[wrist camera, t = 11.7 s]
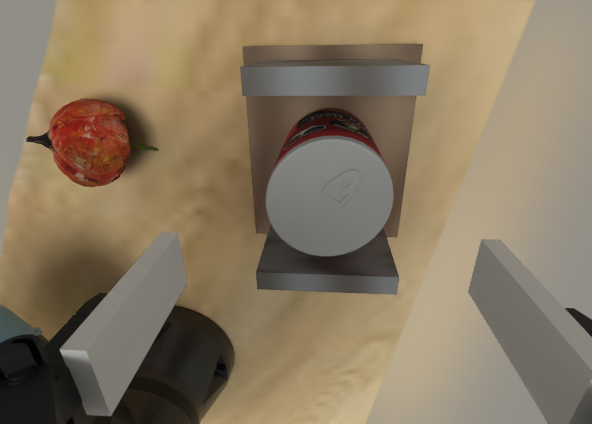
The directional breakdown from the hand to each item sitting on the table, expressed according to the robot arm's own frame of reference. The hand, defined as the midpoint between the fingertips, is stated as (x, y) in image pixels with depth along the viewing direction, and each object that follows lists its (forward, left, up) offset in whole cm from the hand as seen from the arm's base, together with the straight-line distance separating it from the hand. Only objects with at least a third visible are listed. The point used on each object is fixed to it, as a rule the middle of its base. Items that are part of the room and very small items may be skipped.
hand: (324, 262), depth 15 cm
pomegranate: (-12, +16, -19) cm, 27 cm away
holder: (0, 0, -19) cm, 19 cm away
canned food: (0, 0, -17) cm, 17 cm away
